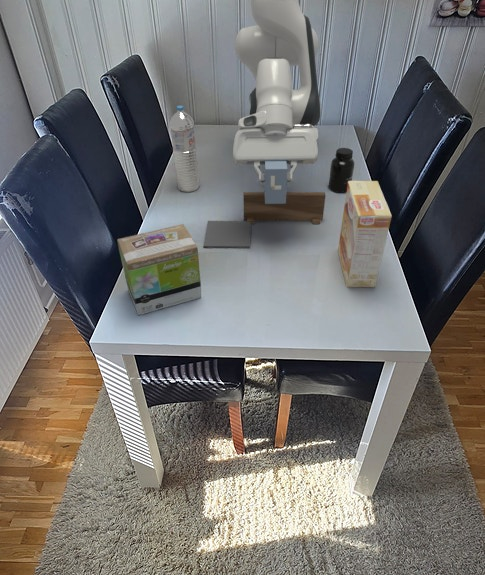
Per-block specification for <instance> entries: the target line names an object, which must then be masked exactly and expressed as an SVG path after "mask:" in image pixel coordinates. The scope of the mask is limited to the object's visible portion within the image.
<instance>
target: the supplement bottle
mask: <svg viewBox="0 0 485 575" xmlns="http://www.w3.org/2000/svg"><path fill="white" fill-rule="evenodd" d="M335 152H336V153H335V157H334V158H333V159H332V160H331V163H330V171H329V172H330V173H329V178H328V189H330V190H331V191H333V192H335V193H339V194H340V193H346V192H347V185H348V181H353V175H354V170H355V169H354V168H355V161H354V159H353V154H354V151H353V150H352V149H351V148H348V147H341V148H340V147H339V148H337V149H336V151H335Z"/></svg>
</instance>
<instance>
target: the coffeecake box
mask: <svg viewBox="0 0 485 575" xmlns="http://www.w3.org/2000/svg"><path fill="white" fill-rule="evenodd" d="M345 193H346V194H345V202H344V207H343V214H342V218H341V219H342V220H341V225H340V227H341V228H340V235H339V240H338V247H337V253H338V257H339V261H340V266H341V270H342V274H343V279H344V283H345V287H346V288H375V287H376V285H377V281H378V277H379V272H380V268H381V264H382V258H383V255H384V252H385V247H386V242H387V237H388V234H389V229H390V224H391V222H392V217H393V216H392V213H391V211H390V207H389V205H388V202H387V201H386V199H385V196H384V193H383V191H382V189H381V186H380V184H379V181H378V180H352V181H348V185H347V192H345Z"/></svg>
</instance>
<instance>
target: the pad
mask: <svg viewBox="0 0 485 575" xmlns="http://www.w3.org/2000/svg"><path fill="white" fill-rule="evenodd" d="M251 227H252V224H251V222H247V220H208V221H207V224H206V230H205V235H204V240H203V249H250V248H251V231H252V230H251Z"/></svg>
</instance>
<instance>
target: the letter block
mask: <svg viewBox="0 0 485 575" xmlns="http://www.w3.org/2000/svg"><path fill="white" fill-rule="evenodd" d="M264 173H265V182H264V192H265V193H264V194H265V204H286V192H287V186H288V182H287V173H288V164H287V162H286V160H279V161H265V164H264Z"/></svg>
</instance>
